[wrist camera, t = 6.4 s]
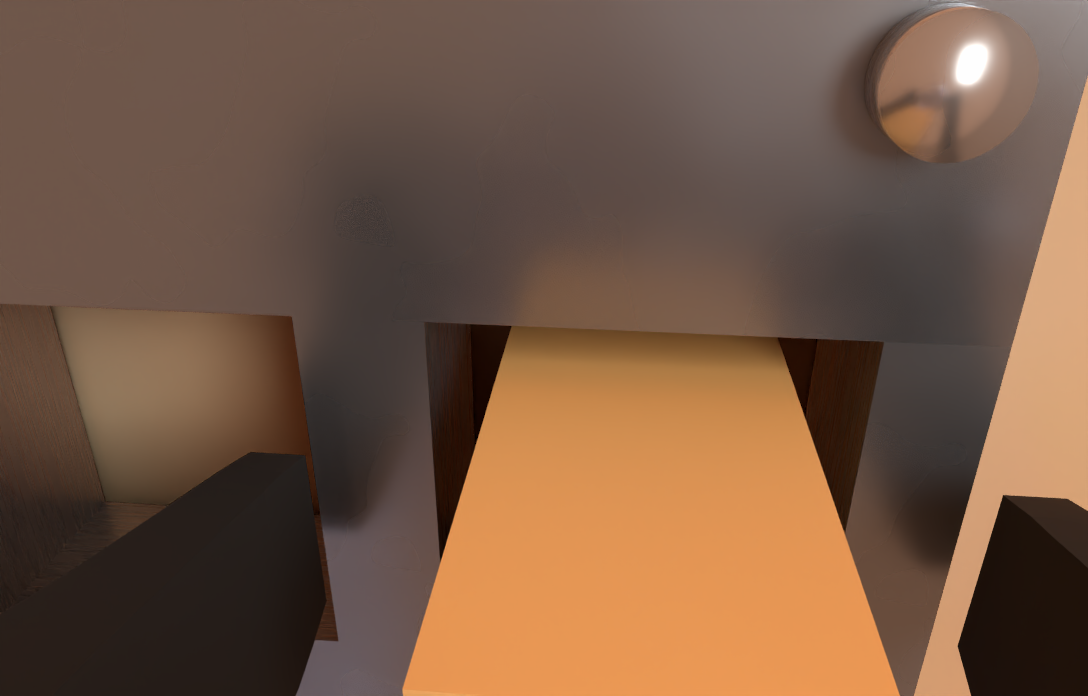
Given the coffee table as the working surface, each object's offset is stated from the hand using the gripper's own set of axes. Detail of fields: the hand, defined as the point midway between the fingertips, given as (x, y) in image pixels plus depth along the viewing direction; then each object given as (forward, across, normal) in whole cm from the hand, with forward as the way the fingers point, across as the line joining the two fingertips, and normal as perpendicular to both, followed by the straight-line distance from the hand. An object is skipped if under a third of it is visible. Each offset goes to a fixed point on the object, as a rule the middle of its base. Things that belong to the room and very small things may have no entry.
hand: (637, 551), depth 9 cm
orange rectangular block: (+3, 0, 0) cm, 3 cm away
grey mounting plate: (+3, +3, 0) cm, 4 cm away
